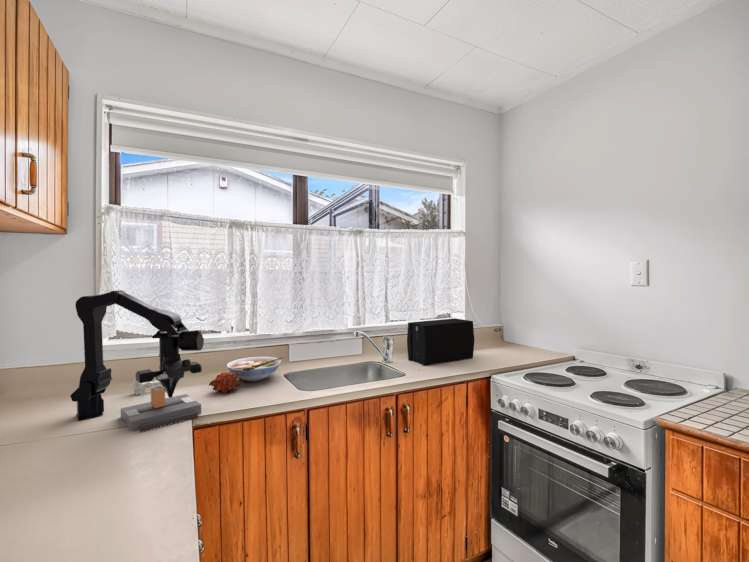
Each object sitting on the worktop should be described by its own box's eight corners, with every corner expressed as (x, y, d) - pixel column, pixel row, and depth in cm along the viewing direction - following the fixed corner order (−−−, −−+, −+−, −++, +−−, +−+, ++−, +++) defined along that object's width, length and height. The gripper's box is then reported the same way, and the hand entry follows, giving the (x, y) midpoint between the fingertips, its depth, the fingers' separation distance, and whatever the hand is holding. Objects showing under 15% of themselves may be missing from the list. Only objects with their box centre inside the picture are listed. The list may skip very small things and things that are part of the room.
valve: (133, 397, 141) (169, 391, 148) (132, 380, 141) (168, 375, 148) (133, 392, 147) (167, 387, 153) (132, 376, 147) (167, 371, 153)
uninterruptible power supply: (407, 359, 197) (406, 322, 196) (456, 352, 213) (456, 317, 213) (425, 366, 183) (425, 326, 182) (476, 358, 199) (476, 321, 198)
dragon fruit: (244, 394, 148) (212, 402, 145) (242, 377, 154) (211, 384, 151) (240, 381, 143) (207, 388, 139) (239, 364, 149) (207, 371, 146)
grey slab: (141, 432, 110) (141, 426, 110) (126, 413, 124) (126, 409, 124) (197, 417, 121) (197, 412, 121) (178, 401, 136) (178, 397, 136)
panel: (131, 431, 111) (130, 420, 110) (120, 417, 121) (120, 407, 121) (201, 413, 124) (201, 403, 124) (186, 402, 135) (186, 393, 135)
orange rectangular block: (154, 408, 120) (154, 390, 119) (151, 404, 123) (150, 387, 122) (165, 405, 122) (164, 388, 121) (161, 402, 125) (160, 385, 125)
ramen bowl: (255, 369, 180) (254, 352, 179) (293, 374, 170) (293, 357, 170) (212, 383, 157) (212, 364, 157) (254, 391, 147) (253, 370, 147)
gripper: (143, 359, 112) (144, 411, 112) (207, 350, 125) (208, 396, 126) (134, 353, 120) (135, 401, 120) (195, 345, 133) (196, 388, 133)
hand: (170, 397), depth 125 cm, fingers closed
